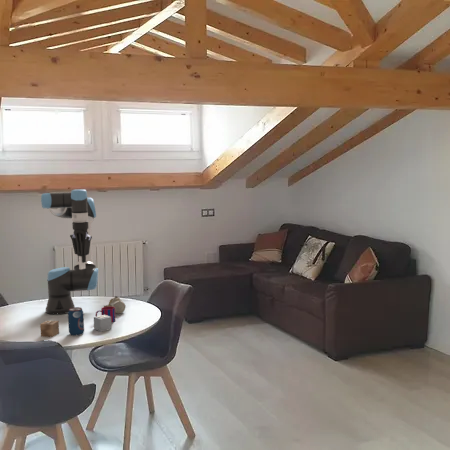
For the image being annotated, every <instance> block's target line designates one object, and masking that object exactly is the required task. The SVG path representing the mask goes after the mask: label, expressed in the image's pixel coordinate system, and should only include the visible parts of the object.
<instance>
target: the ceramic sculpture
mask: <svg viewBox="0 0 450 450" xmlns="http://www.w3.org/2000/svg"><path fill="white" fill-rule="evenodd" d="M109 306H111V307H115V314H118V315H119V314H121V313H124V312H125V309H126V308H127V307H126V304H125V303H124V302H123V301H122V299H121V298H120V297H119V296H118V295H117V296H116V295H115V296H114V297H112V298H111V299H110V300H109V301H108V304H107V305H103V307H109Z"/></svg>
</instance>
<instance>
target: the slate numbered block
mask: <svg viewBox="0 0 450 450" xmlns="http://www.w3.org/2000/svg"><path fill="white" fill-rule="evenodd" d="M112 326H113V325H112V323H111V317H110V316H107V315H102V314H101V315H97V316H96V315H95V316H93V327H94V328H93V330H95V331H98V332H100V333H101V332H105V331H109V330H112V329H113V328H112Z"/></svg>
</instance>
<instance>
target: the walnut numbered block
mask: <svg viewBox="0 0 450 450" xmlns="http://www.w3.org/2000/svg"><path fill="white" fill-rule="evenodd" d="M39 327H40V328H39V329H40V337H42V338H54V337H55V336H57V335H59V334H60V322H59V320H46V321H45V320H44V321H43V322H41V323H40V324H39Z"/></svg>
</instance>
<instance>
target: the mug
mask: <svg viewBox="0 0 450 450" xmlns="http://www.w3.org/2000/svg"><path fill="white" fill-rule="evenodd" d="M99 312H100V313H101V315H107V316H110V317H111V324H112V323H114V322H116V313H115V307H111V306H109V307H104V306H103V307H101V308H100V309H99V310H97V311H96V312H95V317H96V316H98V313H99Z"/></svg>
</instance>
